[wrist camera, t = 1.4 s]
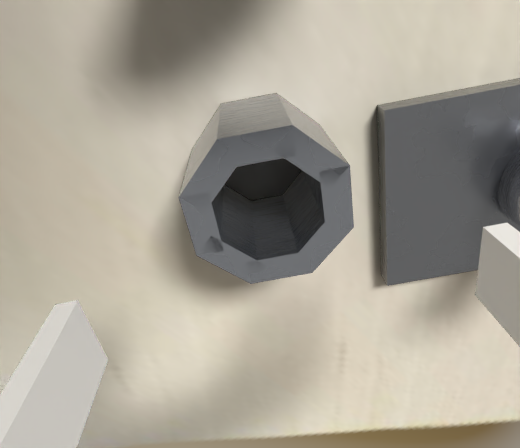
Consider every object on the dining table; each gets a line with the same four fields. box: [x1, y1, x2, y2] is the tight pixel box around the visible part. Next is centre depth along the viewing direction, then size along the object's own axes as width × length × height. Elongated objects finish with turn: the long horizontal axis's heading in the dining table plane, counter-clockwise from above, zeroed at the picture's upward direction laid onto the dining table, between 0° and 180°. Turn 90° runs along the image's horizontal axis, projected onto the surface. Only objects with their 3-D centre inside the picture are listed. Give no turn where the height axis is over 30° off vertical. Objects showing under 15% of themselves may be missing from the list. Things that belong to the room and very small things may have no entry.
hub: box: [179, 93, 354, 284], centre depth 20 cm, size 7×7×6 cm
